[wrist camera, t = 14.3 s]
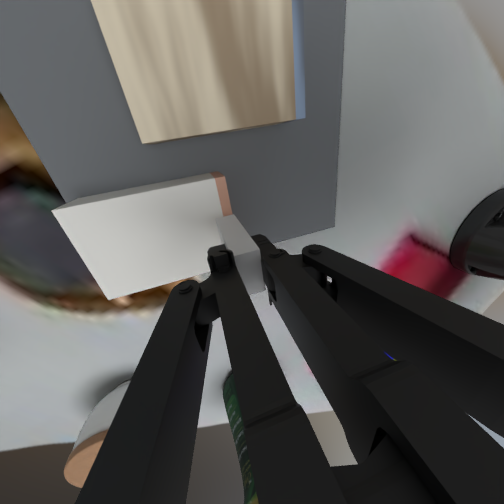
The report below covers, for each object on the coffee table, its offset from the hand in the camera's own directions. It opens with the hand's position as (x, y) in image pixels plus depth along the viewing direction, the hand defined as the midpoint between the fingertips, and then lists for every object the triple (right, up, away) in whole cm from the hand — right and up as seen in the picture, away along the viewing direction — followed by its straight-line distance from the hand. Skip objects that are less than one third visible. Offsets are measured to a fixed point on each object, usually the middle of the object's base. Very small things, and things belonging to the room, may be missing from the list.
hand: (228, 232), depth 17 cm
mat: (-2, +7, +3) cm, 8 cm away
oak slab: (+5, +13, -1) cm, 14 cm away
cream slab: (0, +2, +3) cm, 3 cm away
